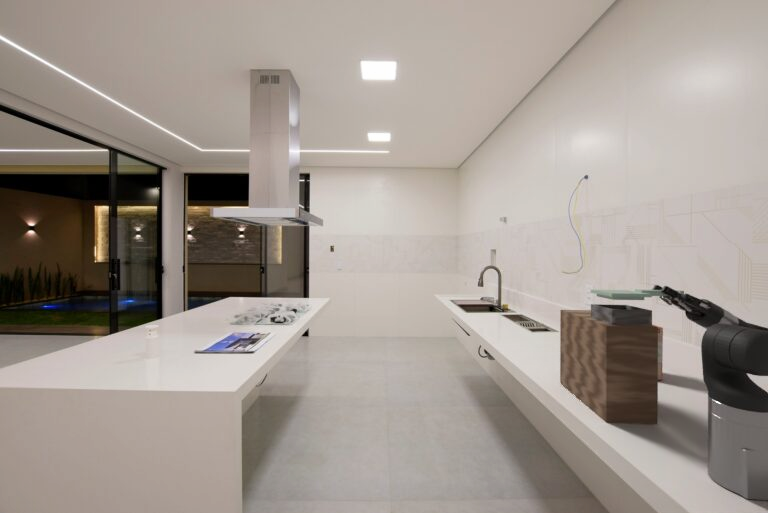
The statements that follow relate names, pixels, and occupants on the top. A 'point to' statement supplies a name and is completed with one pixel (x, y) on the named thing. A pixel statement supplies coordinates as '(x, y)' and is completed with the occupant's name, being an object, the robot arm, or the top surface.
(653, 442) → the top surface
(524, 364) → the top surface
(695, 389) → the top surface
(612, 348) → the cabinet
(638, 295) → the green t-shaped block
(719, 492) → the top surface
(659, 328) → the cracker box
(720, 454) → the robot arm
